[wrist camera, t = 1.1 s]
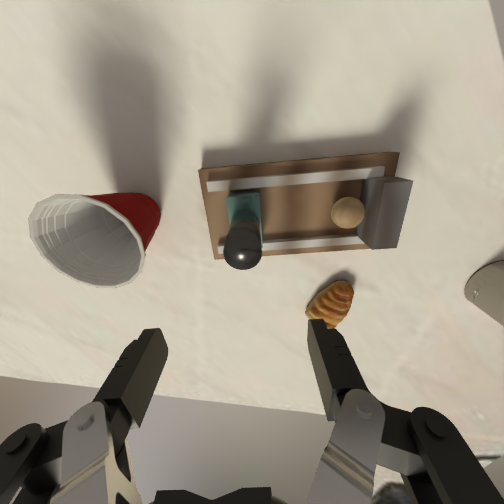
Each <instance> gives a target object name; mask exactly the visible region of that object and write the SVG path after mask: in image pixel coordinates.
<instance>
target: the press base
mask: <svg viewBox="0 0 504 504" xmlns="http://www.w3.org/2000/svg"><path fill="white" fill-rule="evenodd" d="M399 153H400V152H383V153H372V154H360V155H349V156H338V157H326V158H315V159H304V160H292V161H281V162H269V163H258V164H247V165H235V166H224V167H213V168H201V169H199V170H198V172H199V178H200V183H201V189H202V194H203V199H204V205H205V210H206V216H207V221H208V227H209V232H210V238H211V243H212V248H213V254H214V259H225V258H224V255H223V249H224V245H225V242H226V238H227V234H228V231H229V227H230V225H229V218H228V210H227V203H226V196H227V194H228V192H238V191H250V190H259V198H260V213H261V228H262V244H263V248H262V256H271V255H285V254H299V253H313V252H328V251H342V250H356V249H370V248H371V249H372V250H373V249H388V248H397V244H398V240H399V236H400V232H401V228H402V224H403V220H404V216H405V212H406V208H407V204H408V200H409V196H410V192H411V188H412V184H413V181H412V180H408V179H403V178H399V177H395V172H396V168H397V163H398V158H399ZM345 197H354V198H357V199H358V200H360V201H361V202H362V203H363V205H364V208H365V215H364V218H363V220H362V221H361V222H360V223H359V224H358V225H357V226H355V227H353V228H341V227H339V226H337V225H336V224H335V223H334V222H333V220H332V217H331V210H332V207H333V205H334V204H335V203H336V202H337V201H338V200H340V199H342V198H345Z"/></svg>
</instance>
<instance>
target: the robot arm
mask: <svg viewBox="0 0 504 504" xmlns="http://www.w3.org/2000/svg"><path fill="white" fill-rule="evenodd" d="M465 296H466V298H467V299H468V300H469V301H470V302H471V303H473V304H474V305H475V306H477V307H478V308H480V309H481V310H482V311H484V312H485V313H486V314H488V315H489V316H490V317H492V318H493V319H494V320H496V321H497V322H498V323H500V324H501V325H503V326H504V261H499V262H495V263H492V264H490V265H488V266H486V267H484V268H482V269H481V270H479V271H478V272H477V273H476V274H474V275H473V276H472V278H471V279H470V280H469V281H468V283H467V285H466V288H465ZM307 342H308V349H309V353H310V357H311V361H312V365H313V368H314V372H315V376H316V379H317V383H318V387H319V390H320V394H321V398H322V402H323V405H324V409H325V413H326V416H327V420H328V421H335V426H334V429H333V431H332V434H331V437H330V440H329V442H328V445H327V447H326V448H325V450H324V452H323V454H322V457H321V460H320V462H319V465H318V468H317V471H316V474H315V476H314V479H313V482H312V484H311V487H310V490H309V493H308V496H307V498H306V501H305V504H371V500H372V494H373V487H374V482H373V481H374V474H375V469H376V464H377V465H380V466H383V467H385V468H388V469H391V470H394V471H396V472H399V473H400V474H401V477H402V479H403V482H404V484H405V487H406V489H407V492H408V494H409V497H410V499H411V502H412V504H504V499H503V498H502V497H501V495H500V493H499V492H498V490H497V489H496V487H495V486H494V484H493V483H492V481H491V480H490V478H489V477H488V475H487V474H486V472H485V471H484V469H483V467H482V466H481V464H480V463H479V461H478V460H477V458H476V457H475V455H474V454H473V452H472V451H471V449H470V448H469V446H468V445H467V443H466V442H465V440H464V439H463V437H462V436H461V434H460V433H459V431H458V430H457V428H456V427H455V426H454V424H453V423H452V422H451V421H450V420H449V419H448V418H446V417H445V416H444V415H443V414H441V413H439V412H438V411H436V410H434V409H431V408H427V407H418V408H416V409H414V410H413V411H412V413H411V412H408V411H404V410H401V409H397V408H394V407H391V406H388V405H386V404H384V403H382V402H380V401H379V400H378V399H377V398H376V397H375V396H373V395H372V394H371V393H370V391H369V390H368V388H367V386H366V384H365V382H364V380H363V378H362V376H361V374H360V372H359V369H358V367H357V365H356V363H355V361H354V359H353V357H352V356H351V352H350V350H349V348H348V347H347V344H346V342H345V339H344V337H343V336H342V335H341V334H340V333H339V332H338V331H337V330H336V329H335V328H332V329H328V328H327V326H326V323H325V321H324V319H323V318H322V319H309V320H308V337H307ZM167 357H168V347H167V344H166V341H165V339H164V336H163V334H162V331H161V329H160V328H153V329H144V330H143V331H142V333H141V335H140V336H139V338H138V340H133V341H132V342H131V343H130V344H129V345H128V346H127V347H126V348H125V349H124V351H123V353H122V354H121V356H120V358H119V360H118V361H117V362H116V364H115V366H114V368H113V369H112V371H111V372H110V374H109V375H108V377H107V379H106V380H105V382H104V383H103V385H102V387H101V388H100V390H99V392H98V393H97V395H96V397H95V398H94V400H93V401H92V402H91V403H88V404H86V405H84V406H83V407H81V408H80V409H79V410H77V411H76V412H75V413H74V414H73V415H72V416H71V417H70V419H69V420H68V421H65V422H62V423H59V424H57V425H54V426H52V427H49V428H46V429H44V428H43V427H41V425H39V424H37V423H32V424H28V425H26V426H23V427H22V428H20V429H18V430H17V431H16V432H14V433H13V434H11V435H10V436H9V437H8V438H7V439H6V440H5V441H4V442H3V443H2V444H1V445H0V504H9V503H10V501H11V500H12V498H13V497H14V495H15V493H16V492H17V490H18V489H19V487H22V489H21V491H20V493H19V494H18V496H17V497H16V499H15V501H14V502H13V504H143V503H142V500H141V497H140V494H139V492H138V490H137V487H136V483H135V478H134V472H133V467H132V462H131V456H130V451H129V445H128V441H127V438H126V437H127V434H128V432H129V430H130V429H136V428H140V426H141V423H142V421H143V418H144V415H145V413H146V411H147V408H148V406H149V403H150V401H151V398H152V396H153V393H154V390H155V388H156V385H157V383H158V380H159V378H160V375H161V373H162V370H163V368H164V365H165V363H166V360H167ZM150 504H287V503H286V502H284V501H283V500H281V499H279V498H277V497H275V496H272V493H271V487H257V488H241V489H239V490H237V491H234V492H232V493H229V494H226V495H224V496H222V497H219V498H217V499H214V500H209V499H207V498H204V497H202V496H199V495H196V494H194V493H191V492H189V491H186V490H163V491H157V493H156V496H155V500H154V501H153V502H151V503H150Z"/></svg>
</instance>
